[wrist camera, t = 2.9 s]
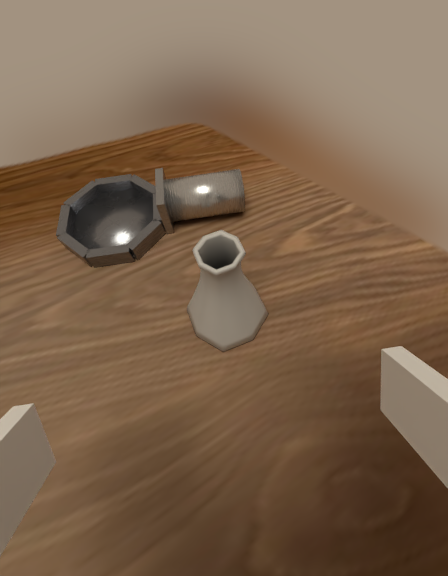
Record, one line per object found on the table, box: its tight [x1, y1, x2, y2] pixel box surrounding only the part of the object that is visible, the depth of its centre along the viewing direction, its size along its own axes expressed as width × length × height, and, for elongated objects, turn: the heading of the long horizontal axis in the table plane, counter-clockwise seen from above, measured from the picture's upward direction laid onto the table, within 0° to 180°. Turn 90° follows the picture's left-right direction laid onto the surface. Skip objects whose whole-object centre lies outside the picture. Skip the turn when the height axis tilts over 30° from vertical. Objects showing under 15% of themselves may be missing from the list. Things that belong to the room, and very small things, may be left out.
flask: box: [187, 230, 268, 352], centre depth 23 cm, size 7×7×10 cm
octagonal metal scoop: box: [56, 168, 245, 268], centre depth 31 cm, size 20×11×4 cm, turn 98°
